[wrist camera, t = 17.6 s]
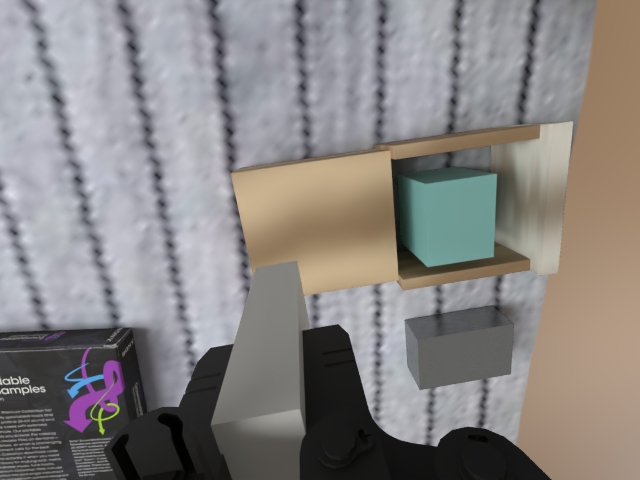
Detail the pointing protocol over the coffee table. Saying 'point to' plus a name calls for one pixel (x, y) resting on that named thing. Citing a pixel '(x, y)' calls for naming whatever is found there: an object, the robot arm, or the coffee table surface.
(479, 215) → the block
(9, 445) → the box
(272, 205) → the drawer
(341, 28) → the coffee table surface
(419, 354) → the dark grey block
